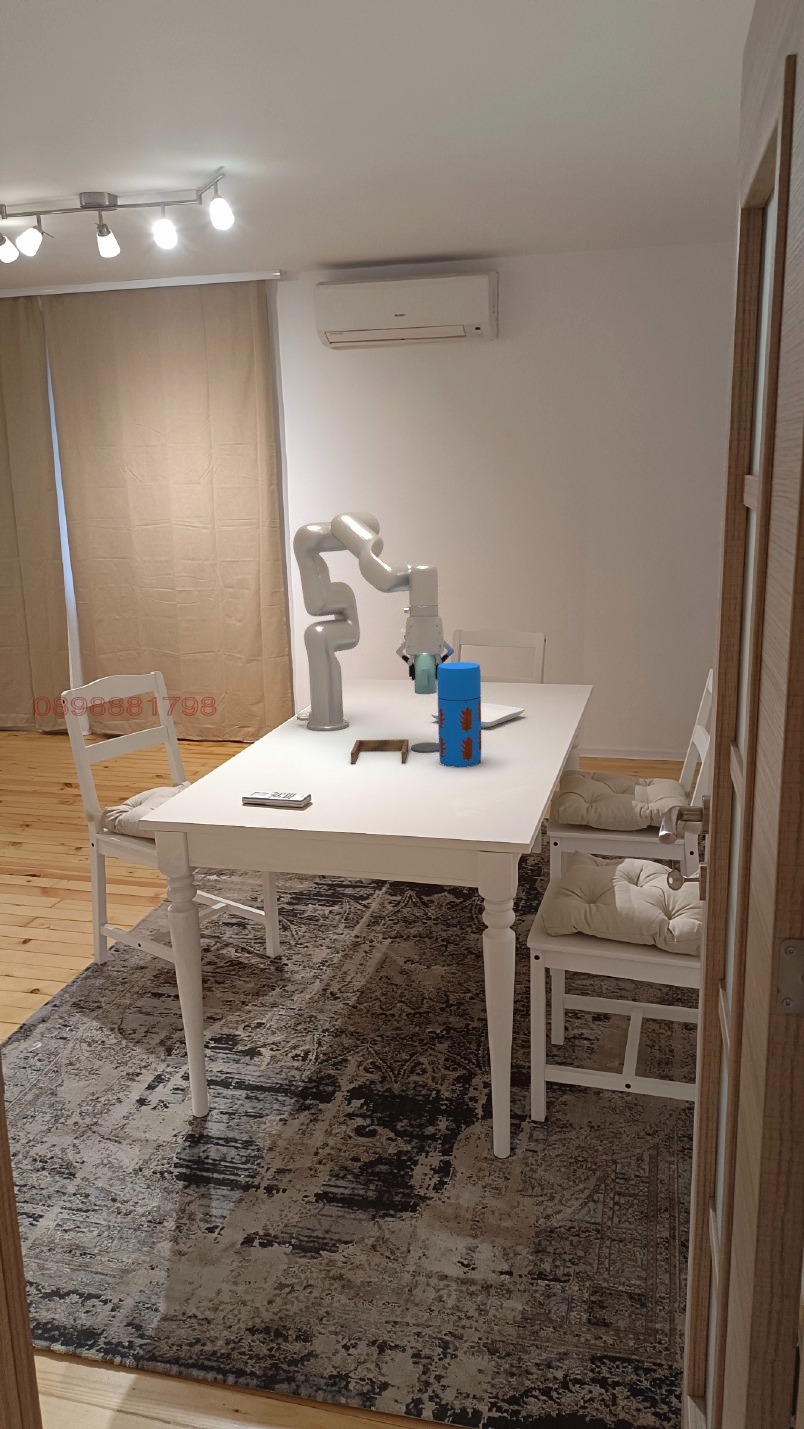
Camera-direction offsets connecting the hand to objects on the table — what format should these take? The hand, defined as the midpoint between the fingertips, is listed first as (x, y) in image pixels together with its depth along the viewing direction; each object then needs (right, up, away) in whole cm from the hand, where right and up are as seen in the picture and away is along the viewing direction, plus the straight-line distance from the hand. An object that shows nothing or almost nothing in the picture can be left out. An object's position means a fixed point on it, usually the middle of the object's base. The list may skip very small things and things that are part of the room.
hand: (425, 678), depth 275 cm
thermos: (+9, -22, -11) cm, 26 cm away
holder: (-12, -21, -4) cm, 24 cm away
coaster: (+1, -19, +4) cm, 19 cm away
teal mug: (0, -4, 0) cm, 4 cm away
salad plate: (+17, -12, +37) cm, 42 cm away
